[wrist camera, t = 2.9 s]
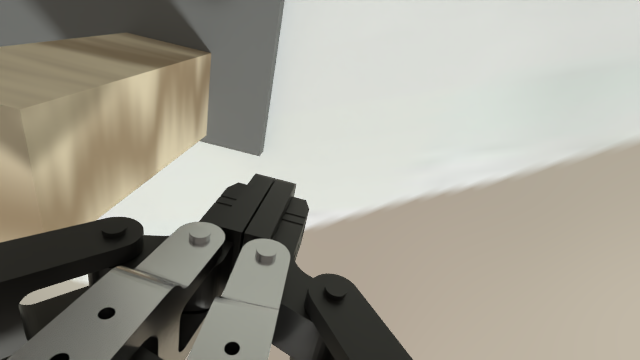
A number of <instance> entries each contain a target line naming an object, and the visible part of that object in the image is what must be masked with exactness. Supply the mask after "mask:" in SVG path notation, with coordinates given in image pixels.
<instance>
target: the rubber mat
mask: <svg viewBox="0 0 640 360" xmlns="http://www.w3.org/2000/svg"><path fill="white" fill-rule="evenodd" d="M283 7H284V0H0V47H2V46H11V45H20V44H29V43H38V42H47V41H56V40H65V39H73V38H82V37H91V36H100V35H109V34H118V33H131V34H135V35H139V36H143V37H147V38H151V39H155V40H159V41H163V42H168V43H172V44H176V45H180V46H184V47H188V48H192V49H196V50H201V51H205V52H209V53H211V66H210V83H209V100H208V117H207V134H206V136H205V137H204V138H202V139H201V140H200V141H201V142H205V143H209V144H213V145H217V146H221V147H225V148H229V149H233V150H237V151H241V152H245V153H249V154H253V155H257V156H260V155H261V153H262V152H263V147H264V140H265V133H266V126H267V119H268V112H269V105H270V98H271V91H272V84H273V77H274V70H275V63H276V56H277V49H278V42H279V35H280V28H281V21H282V14H283Z"/></svg>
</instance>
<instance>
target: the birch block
mask: <svg viewBox="0 0 640 360" xmlns="http://www.w3.org/2000/svg"><path fill="white" fill-rule="evenodd" d="M210 66H211V53H209V52H205V51H201V50H196V49H192V48H188V47H184V46H180V45H176V44H172V43H168V42H163V41H159V40H155V39H151V38H147V37H143V36H139V35H135V34H131V33H118V34H109V35H100V36H91V37H82V38H73V39H65V40H56V41H47V42H38V43H29V44H20V45H11V46H2V47H0V242H5V241H9V240H14V239H18V238H22V237H27V236H31V235H35V234H40V233H44V232H48V231H53V230H57V229H61V228H66V227H70V226H75V225H79V224H83V223H88V222H92V221H96V220H97V219H98V218H99V217H101V216H102V215H103V214H105V213H106V212H107V211H109V210H110V209H111V208H112V207H114V206H115V205H116V204H118V203H119V202H120V201H122V200H123V199H124V198H125V197H127V196H128V195H129V194H131V193H132V192H133V191H135V190H136V189H137V188H139V187H140V186H141V185H142V184H144V183H145V182H146V181H148V180H149V179H150V178H152V177H153V176H154V175H155V174H157V173H158V172H159V171H161V170H162V169H163V168H165V167H166V166H167V165H168V164H170V163H171V162H172V161H174V160H175V159H176V158H178V157H179V156H180V155H181V154H183V153H184V152H185V151H187V150H188V149H189V148H191V147H192V146H193V145H195V144H196V143H197V142H198V141H200V140H201V139H202V138H204V137H205V136H206V134H207V117H208V100H209V83H210Z"/></svg>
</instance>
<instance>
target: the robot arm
mask: <svg viewBox="0 0 640 360" xmlns="http://www.w3.org/2000/svg"><path fill="white" fill-rule="evenodd" d="M295 188H296V184H294V183H290V182H287V181H283V180H279V179H275V178H271V177H267V176H263V175H260V174H255V175H254V176H253V178H252V179H251V181H250V182H249V183H248V185H245V184H242V183H236V184H234V185H232V186H230V187H228V188H227V189H226V190H225V191H224V192H223V194H222V195H221V197H219V198H218V200H217V201H216V203H214V204H213V206H212V207H211V208H210V209H209V210H208V211H207V213H206V214H205V215H204V216H203V217H202V219H201V220H200V221H199V222H192V223H188V224H185V225H183V226H181V227H179V228H178V229H177V230H176V231H175V232H174V233H173V234H172V235H170V236H150V235H144V232H143V226H142V225H141V224H140V223H139V222H138V221H136V220H134V219H131V218H126V217H110V218H105V219H101V220H96V221H92V222H88V223H83V224H79V225H75V226H70V227H66V228H61V229H57V230H53V231H48V232H44V233H40V234H35V235H31V236H27V237H22V238H18V239H14V240H9V241H5V242H0V360H185V358H186V357H187V355H188V354H189V352H190V351H191V352H190V354H189V356H188V358H187V360H268V357H269V352H270V348H271V344H273V345H274V346H276V347H277V348H279V349H280V350H282V351H283V352H285V353H286V354H288V355H289V356H290V360H413V359H412V358H411V357H410V356H409V354H408V353H407V352H406V350H405V349H404V348H403V346H402V345H401V344H400V343H399V341H398V340H397V339H396V338H395V336H394V335H393V334H392V332H391V331H390V330H389V329H388V327H387V326H386V325H385V323H384V322H383V321H382V320H381V318H380V317H379V316H378V315H377V313H376V312H375V311H374V309H373V308H372V307H371V305H370V304H369V303H368V302H367V301H366V299H365V298H364V297H363V295H362V294H361V293H360V291H359V290H358V289H357V288H356V286H355V285H354V284H353V283H352V282H351V281H349V280H348V279H346V278H344V277H342V276H339V275H335V274H321V275H318V276H316V277H315V278H312V277H311V276H308V275H307V274H305V273H304V272H303V271H302V270H301V269H300V268H299V267H298V266H297V264H296V263H295V260H296V257H297V253H298V250H299V247H300V244H301V241H302V237H303V233H304V228H305V224H306V220H307V216H308V211H309V208H308V205H307V202H306V200H303V199H299V198H295V197H294V193H295ZM86 274H88V279H89V286H87V287H84V288H81V289H78V290H75V291H72V292H69V293H66V294H63V295H60V296H57V297H54V298H51V299H48V300H45V301H42V302H39V303H36V304H32V305H21V304H19V303H20V301H21V300H22V299H23V298H24V297H25V296H26V295H27V294H29V293H31V292H33V291H36V290H38V289H42V288H45V287H48V286H51V285H54V284H58V283H61V282H64V281H67V280H70V279H73V278H77V277H80V276H83V275H86ZM223 291H224V292H223ZM222 293H223V294H222ZM221 295H222V296H221Z"/></svg>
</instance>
